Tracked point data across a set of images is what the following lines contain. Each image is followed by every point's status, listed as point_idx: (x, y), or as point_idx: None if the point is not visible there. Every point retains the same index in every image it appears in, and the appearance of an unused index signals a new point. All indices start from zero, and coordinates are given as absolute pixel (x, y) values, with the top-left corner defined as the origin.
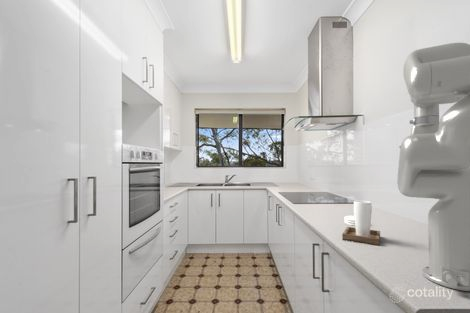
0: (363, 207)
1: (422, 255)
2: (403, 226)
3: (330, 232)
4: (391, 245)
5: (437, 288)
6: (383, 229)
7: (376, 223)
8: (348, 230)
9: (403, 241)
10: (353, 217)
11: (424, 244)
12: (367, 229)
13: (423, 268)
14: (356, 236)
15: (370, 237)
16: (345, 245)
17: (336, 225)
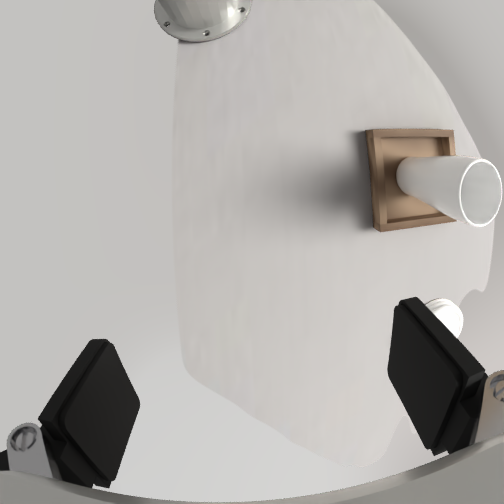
0: (465, 157)
1: (260, 116)
2: (318, 381)
3: None
4: (338, 156)
5: None
6: (367, 317)
7: (382, 366)
8: None
9: (314, 222)
10: None
11: (262, 230)
12: (412, 163)
13: (250, 1)
14: (423, 129)
15: (393, 135)
16: (426, 87)
17: (471, 270)
